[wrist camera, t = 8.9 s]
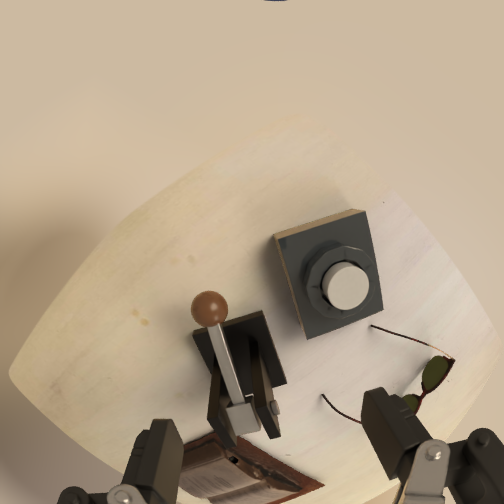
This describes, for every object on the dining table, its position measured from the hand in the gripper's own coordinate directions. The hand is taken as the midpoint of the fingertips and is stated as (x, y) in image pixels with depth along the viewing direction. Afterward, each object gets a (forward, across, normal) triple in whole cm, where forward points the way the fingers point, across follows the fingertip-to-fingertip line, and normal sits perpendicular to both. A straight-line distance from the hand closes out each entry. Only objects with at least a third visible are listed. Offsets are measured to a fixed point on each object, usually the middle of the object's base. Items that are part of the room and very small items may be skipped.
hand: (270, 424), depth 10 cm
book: (+20, +7, +38) cm, 43 cm away
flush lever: (+14, +3, +5) cm, 15 cm away
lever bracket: (+20, +2, +9) cm, 22 cm away
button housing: (+20, -8, 0) cm, 22 cm away
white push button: (+15, -8, 0) cm, 17 cm away
